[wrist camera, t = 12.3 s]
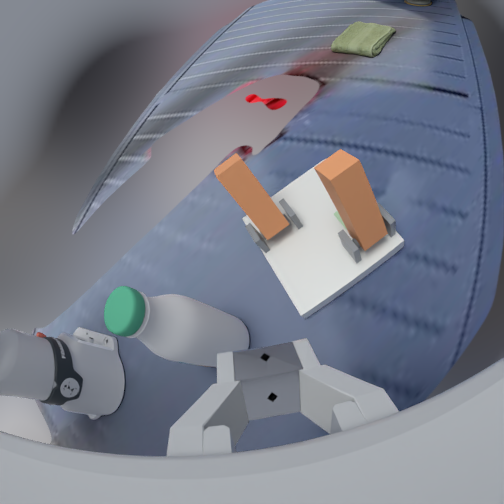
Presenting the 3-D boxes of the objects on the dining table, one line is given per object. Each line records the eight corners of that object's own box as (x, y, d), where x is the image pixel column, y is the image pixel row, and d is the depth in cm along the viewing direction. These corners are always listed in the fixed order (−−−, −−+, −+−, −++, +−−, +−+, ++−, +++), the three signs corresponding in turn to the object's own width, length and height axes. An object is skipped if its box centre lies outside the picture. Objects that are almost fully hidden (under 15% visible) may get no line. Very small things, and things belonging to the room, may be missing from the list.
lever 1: (268, 245, 39) (214, 178, 33) (262, 233, 42) (212, 171, 36) (294, 226, 39) (243, 156, 33) (286, 216, 42) (238, 151, 36)
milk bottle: (240, 306, 42) (139, 253, 25) (259, 355, 37) (153, 331, 21) (198, 329, 43) (90, 291, 27) (213, 376, 39) (98, 361, 23)
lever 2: (364, 256, 33) (327, 182, 26) (349, 240, 36) (311, 169, 29) (390, 235, 32) (361, 158, 25) (374, 221, 35) (342, 147, 28)
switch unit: (305, 318, 37) (292, 310, 32) (247, 224, 47) (231, 207, 42) (403, 246, 34) (404, 227, 30) (328, 166, 44) (319, 143, 40)
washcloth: (398, 32, 52) (396, 22, 49) (376, 60, 50) (373, 49, 48) (355, 27, 59) (352, 18, 57) (328, 54, 58) (324, 44, 55)
